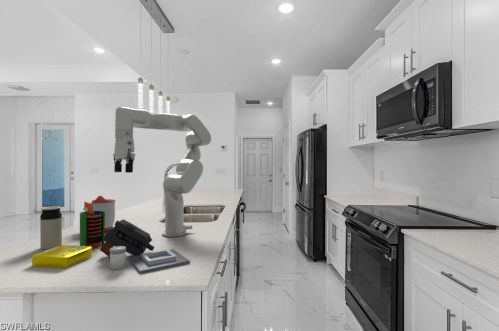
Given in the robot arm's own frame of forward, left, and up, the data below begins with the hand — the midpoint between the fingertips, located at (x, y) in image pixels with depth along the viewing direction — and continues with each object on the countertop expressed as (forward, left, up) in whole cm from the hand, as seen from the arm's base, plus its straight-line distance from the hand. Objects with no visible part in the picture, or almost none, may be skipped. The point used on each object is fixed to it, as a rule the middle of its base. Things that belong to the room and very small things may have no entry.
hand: (123, 172), depth 130 cm
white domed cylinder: (+7, +28, -34) cm, 44 cm away
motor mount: (-7, +30, -34) cm, 45 cm away
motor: (+12, -8, -34) cm, 37 cm away
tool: (+1, +16, -34) cm, 37 cm away
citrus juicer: (+5, -41, -34) cm, 54 cm away
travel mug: (+27, -17, -34) cm, 47 cm away
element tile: (+23, +8, -34) cm, 42 cm away
